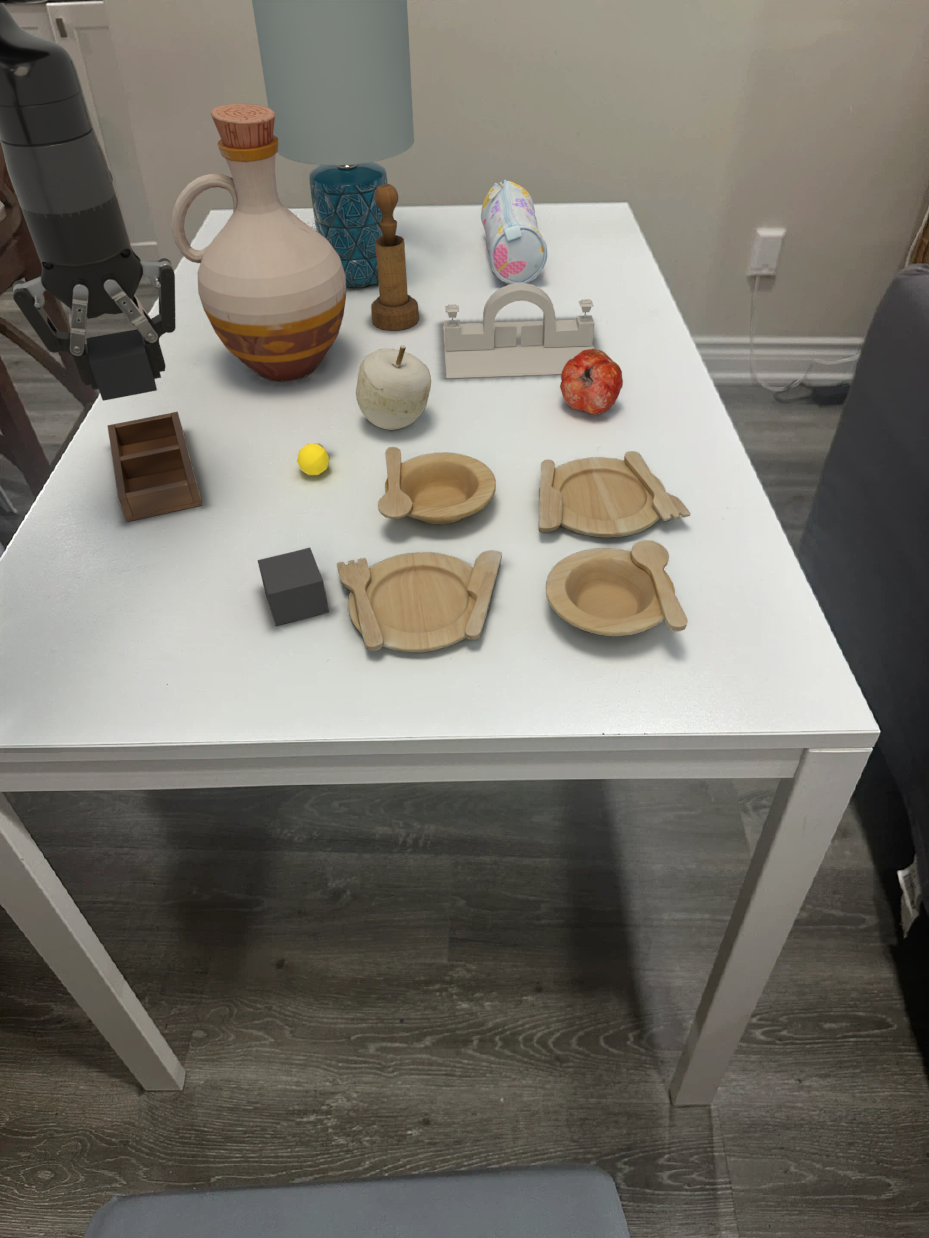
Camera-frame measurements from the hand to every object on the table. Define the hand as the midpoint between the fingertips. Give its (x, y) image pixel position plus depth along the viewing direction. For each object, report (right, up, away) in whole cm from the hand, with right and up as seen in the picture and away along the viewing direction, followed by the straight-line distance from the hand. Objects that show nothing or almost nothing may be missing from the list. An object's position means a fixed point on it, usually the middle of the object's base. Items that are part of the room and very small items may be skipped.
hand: (127, 379), depth 83 cm
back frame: (-2, -7, +14) cm, 16 cm away
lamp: (+16, +29, +50) cm, 61 cm away
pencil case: (+40, +33, +53) cm, 74 cm away
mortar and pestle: (+23, +19, +40) cm, 50 cm away
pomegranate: (+47, +3, +23) cm, 53 cm away
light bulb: (+16, -6, +15) cm, 22 cm away
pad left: (0, 0, 0) cm, 0 cm away
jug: (+8, +10, +31) cm, 34 cm away
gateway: (+40, +13, +34) cm, 54 cm away
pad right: (+16, -21, -1) cm, 27 cm away
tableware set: (+38, -16, +3) cm, 41 cm away
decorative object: (+24, 0, +21) cm, 32 cm away
